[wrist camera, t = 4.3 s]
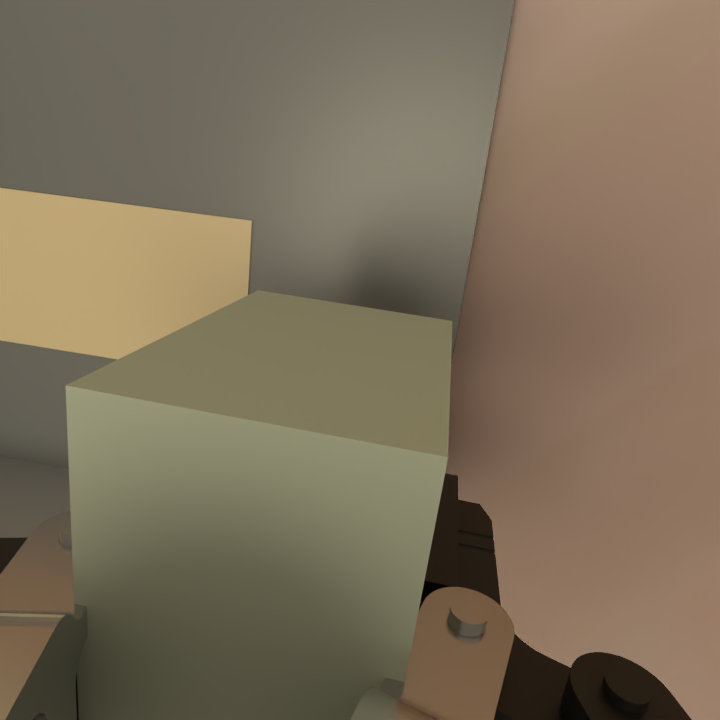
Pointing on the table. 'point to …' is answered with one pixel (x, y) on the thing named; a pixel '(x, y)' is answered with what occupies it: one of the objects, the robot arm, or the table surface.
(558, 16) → the table surface
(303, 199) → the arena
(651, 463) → the table surface
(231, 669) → the sage block
